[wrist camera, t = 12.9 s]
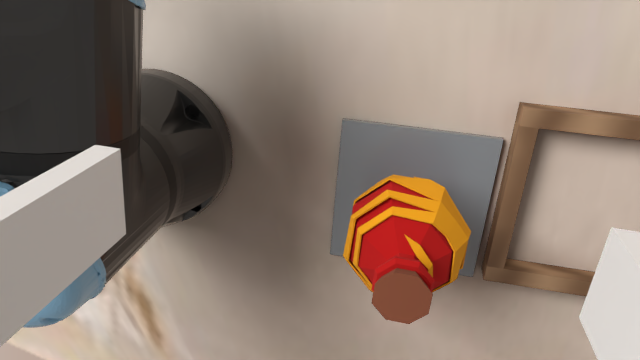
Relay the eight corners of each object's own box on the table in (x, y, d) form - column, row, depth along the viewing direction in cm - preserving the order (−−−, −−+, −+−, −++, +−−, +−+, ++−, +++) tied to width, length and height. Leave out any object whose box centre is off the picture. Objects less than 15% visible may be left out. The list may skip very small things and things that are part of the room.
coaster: (331, 251, 52) (330, 254, 52) (343, 118, 47) (342, 120, 46) (472, 273, 50) (472, 277, 50) (502, 137, 45) (503, 139, 44)
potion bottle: (475, 242, 48) (495, 351, 35) (368, 259, 51) (348, 366, 38) (452, 138, 45) (465, 213, 32) (340, 162, 48) (306, 241, 34)
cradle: (481, 268, 50) (483, 279, 48) (519, 102, 44) (524, 108, 42) (664, 297, 48) (674, 310, 46) (734, 126, 41) (748, 133, 39)
